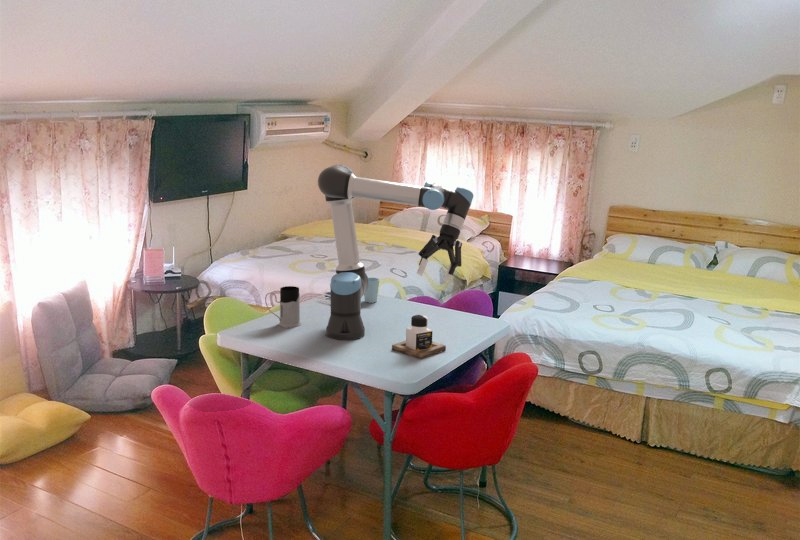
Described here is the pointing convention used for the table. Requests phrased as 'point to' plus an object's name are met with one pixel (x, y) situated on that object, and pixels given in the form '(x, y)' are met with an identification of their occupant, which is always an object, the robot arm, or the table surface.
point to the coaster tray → (418, 354)
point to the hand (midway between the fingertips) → (432, 278)
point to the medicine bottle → (419, 334)
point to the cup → (372, 290)
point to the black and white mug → (288, 306)
